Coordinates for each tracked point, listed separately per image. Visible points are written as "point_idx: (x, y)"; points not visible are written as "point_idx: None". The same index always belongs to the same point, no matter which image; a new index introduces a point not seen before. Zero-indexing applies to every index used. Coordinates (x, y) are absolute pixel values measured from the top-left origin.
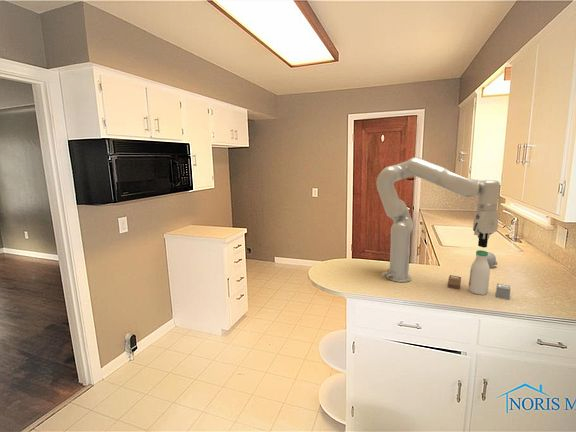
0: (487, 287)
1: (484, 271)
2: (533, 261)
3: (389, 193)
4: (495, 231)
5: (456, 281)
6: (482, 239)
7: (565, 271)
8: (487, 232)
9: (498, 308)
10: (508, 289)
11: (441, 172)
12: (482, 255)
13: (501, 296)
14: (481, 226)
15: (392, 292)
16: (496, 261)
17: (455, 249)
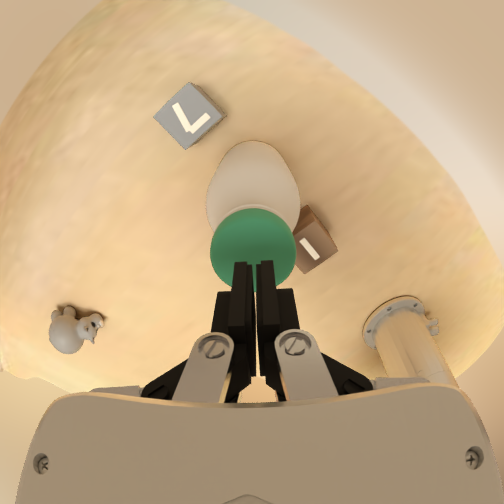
0: (240, 145)
1: (270, 161)
2: None
3: None
4: (89, 397)
5: (320, 226)
6: (300, 336)
7: None
8: (332, 406)
9: (302, 48)
10: (193, 86)
11: None
12: (282, 219)
13: (213, 102)
14: (499, 480)
15: (472, 252)
16: (52, 317)
17: None
